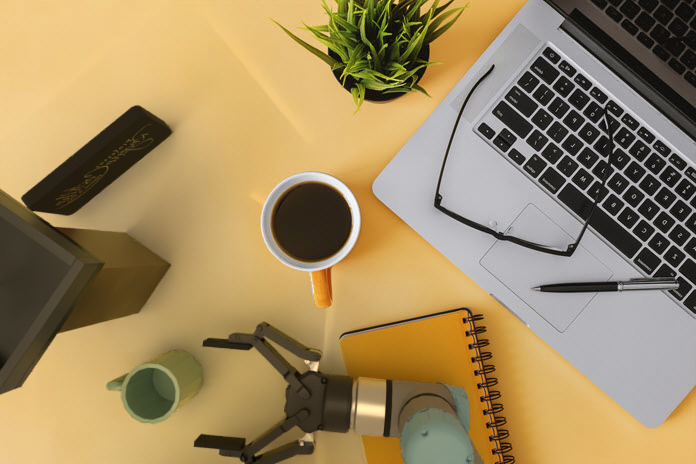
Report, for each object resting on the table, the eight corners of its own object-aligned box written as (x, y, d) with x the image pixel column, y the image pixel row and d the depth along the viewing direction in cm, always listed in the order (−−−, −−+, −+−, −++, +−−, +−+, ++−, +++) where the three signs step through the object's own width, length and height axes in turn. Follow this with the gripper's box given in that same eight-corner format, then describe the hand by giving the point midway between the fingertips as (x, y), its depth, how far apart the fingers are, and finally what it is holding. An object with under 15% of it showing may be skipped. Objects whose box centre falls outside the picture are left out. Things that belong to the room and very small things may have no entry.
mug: (204, 352, 74) (182, 366, 65) (200, 405, 74) (176, 426, 65) (134, 346, 74) (101, 359, 65) (129, 399, 74) (96, 419, 65)
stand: (138, 313, 75) (15, 345, 49) (92, 280, 75) (-55, 294, 49) (171, 264, 75) (65, 270, 49) (125, 232, 75) (-5, 221, 49)
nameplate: (167, 123, 76) (136, 103, 66) (174, 132, 76) (144, 113, 66) (63, 206, 76) (17, 199, 66) (70, 216, 76) (25, 210, 66)
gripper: (347, 483, 70) (203, 469, 71) (360, 310, 71) (217, 299, 72) (344, 511, 62) (183, 495, 63) (358, 317, 63) (199, 304, 64)
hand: (201, 390), depth 68 cm, fingers open, 13 cm apart
